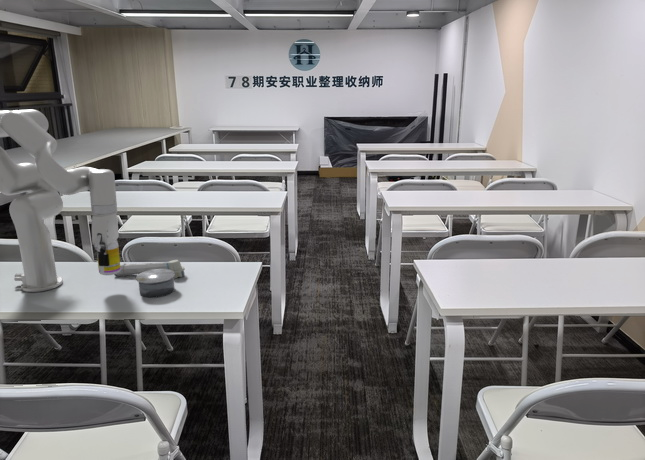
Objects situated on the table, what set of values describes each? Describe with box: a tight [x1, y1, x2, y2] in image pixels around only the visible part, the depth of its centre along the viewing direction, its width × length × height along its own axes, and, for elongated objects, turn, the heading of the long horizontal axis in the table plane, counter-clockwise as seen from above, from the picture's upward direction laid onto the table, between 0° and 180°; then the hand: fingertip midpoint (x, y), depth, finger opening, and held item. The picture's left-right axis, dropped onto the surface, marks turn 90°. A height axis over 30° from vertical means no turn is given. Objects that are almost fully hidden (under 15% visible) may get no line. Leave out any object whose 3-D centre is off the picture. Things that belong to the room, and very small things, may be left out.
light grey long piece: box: [113, 259, 186, 279], centre depth 182 cm, size 5×7×25 cm
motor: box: [135, 269, 175, 299], centre depth 169 cm, size 12×13×6 cm
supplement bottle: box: [96, 237, 121, 276], centre depth 166 cm, size 7×7×13 cm
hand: (108, 261), depth 166 cm, fingers closed on supplement bottle, 6 cm apart
